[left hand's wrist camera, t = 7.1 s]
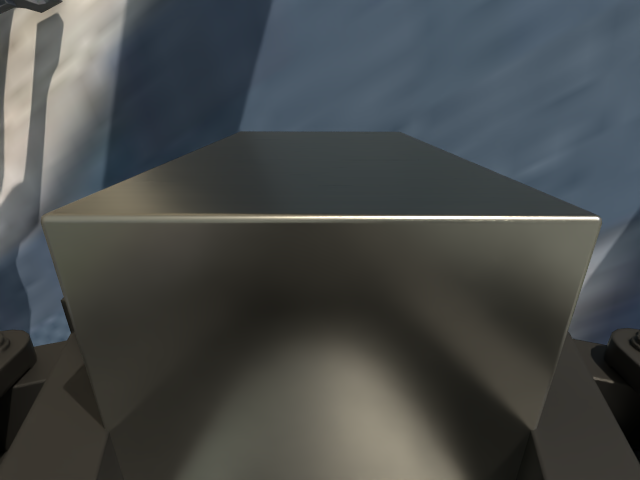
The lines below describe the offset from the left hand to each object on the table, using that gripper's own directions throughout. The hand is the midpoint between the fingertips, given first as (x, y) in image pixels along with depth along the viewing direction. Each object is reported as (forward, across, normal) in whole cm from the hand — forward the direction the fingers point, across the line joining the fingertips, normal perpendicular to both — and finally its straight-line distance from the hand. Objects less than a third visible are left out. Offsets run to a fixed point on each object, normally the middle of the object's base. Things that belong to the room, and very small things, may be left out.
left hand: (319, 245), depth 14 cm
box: (+1, 0, -7) cm, 7 cm away
